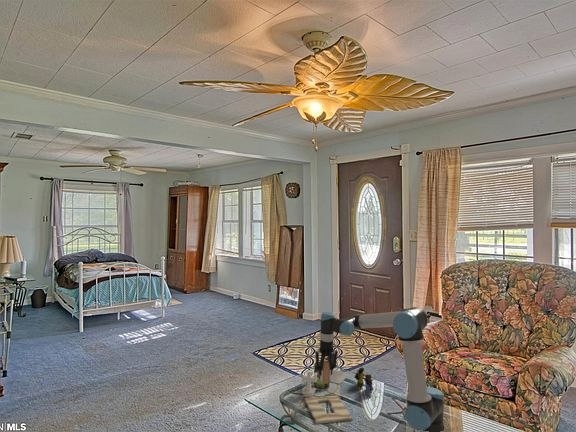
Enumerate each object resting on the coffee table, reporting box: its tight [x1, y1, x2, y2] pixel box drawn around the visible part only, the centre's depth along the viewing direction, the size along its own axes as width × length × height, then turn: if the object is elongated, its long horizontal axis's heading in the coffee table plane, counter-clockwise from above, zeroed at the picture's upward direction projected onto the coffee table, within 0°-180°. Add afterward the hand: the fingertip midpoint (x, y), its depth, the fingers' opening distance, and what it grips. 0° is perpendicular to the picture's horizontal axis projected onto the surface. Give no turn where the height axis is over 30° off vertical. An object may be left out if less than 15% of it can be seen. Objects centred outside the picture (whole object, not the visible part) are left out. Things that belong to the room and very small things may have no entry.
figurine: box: [301, 370, 317, 398], centre depth 227 cm, size 7×9×15 cm
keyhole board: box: [304, 395, 354, 425], centre depth 212 cm, size 24×20×2 cm
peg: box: [322, 360, 329, 384], centre depth 216 cm, size 4×4×12 cm
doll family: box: [353, 367, 374, 398], centre depth 236 cm, size 23×9×13 cm, turn 23°
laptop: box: [324, 353, 350, 385], centre depth 254 cm, size 18×12×13 cm
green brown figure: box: [312, 361, 331, 392], centre depth 239 cm, size 10×10×14 cm
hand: (325, 380), depth 216 cm, fingers closed on peg, 4 cm apart
